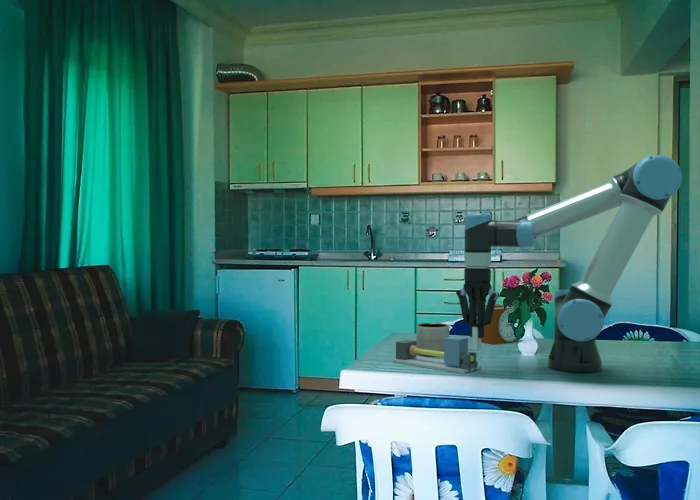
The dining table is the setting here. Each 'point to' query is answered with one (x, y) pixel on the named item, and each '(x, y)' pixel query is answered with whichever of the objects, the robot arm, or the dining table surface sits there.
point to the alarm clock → (499, 327)
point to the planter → (431, 336)
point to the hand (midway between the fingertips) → (476, 349)
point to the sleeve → (455, 350)
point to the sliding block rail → (408, 352)
